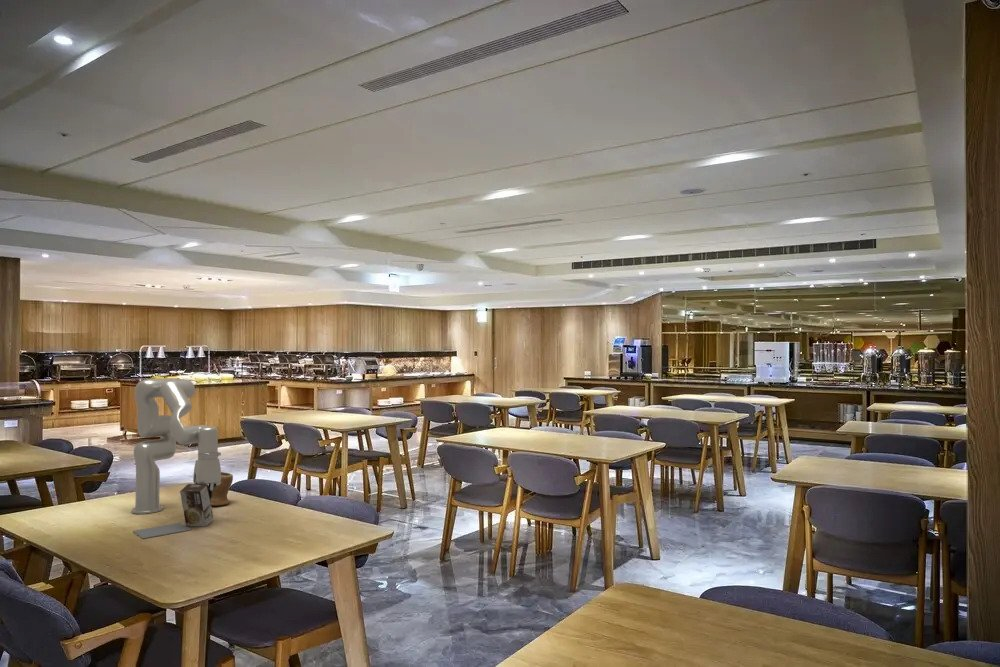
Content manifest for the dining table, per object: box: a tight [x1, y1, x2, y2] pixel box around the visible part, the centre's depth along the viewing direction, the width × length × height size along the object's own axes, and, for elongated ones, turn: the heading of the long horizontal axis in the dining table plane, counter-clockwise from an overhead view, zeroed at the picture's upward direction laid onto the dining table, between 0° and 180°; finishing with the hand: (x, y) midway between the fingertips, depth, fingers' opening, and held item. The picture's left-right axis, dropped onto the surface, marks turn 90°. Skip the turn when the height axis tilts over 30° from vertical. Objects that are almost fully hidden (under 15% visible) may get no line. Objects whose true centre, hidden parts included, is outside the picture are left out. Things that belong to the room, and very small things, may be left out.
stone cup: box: [211, 471, 234, 507], centre depth 307 cm, size 15×12×15 cm
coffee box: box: [179, 483, 214, 527], centre depth 269 cm, size 9×6×16 cm
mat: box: [132, 522, 193, 540], centre depth 261 cm, size 14×18×1 cm
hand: (207, 500), depth 273 cm, fingers closed
